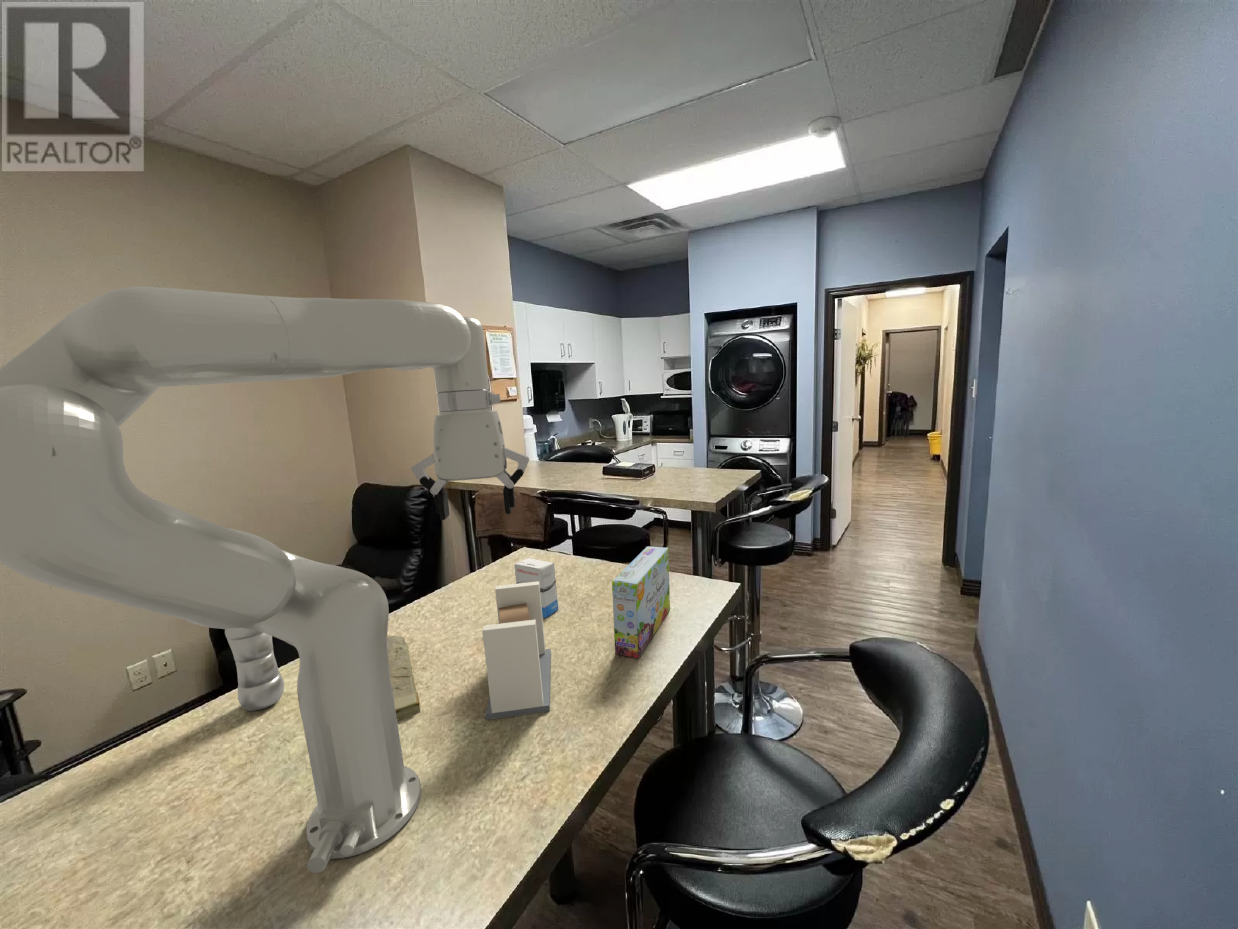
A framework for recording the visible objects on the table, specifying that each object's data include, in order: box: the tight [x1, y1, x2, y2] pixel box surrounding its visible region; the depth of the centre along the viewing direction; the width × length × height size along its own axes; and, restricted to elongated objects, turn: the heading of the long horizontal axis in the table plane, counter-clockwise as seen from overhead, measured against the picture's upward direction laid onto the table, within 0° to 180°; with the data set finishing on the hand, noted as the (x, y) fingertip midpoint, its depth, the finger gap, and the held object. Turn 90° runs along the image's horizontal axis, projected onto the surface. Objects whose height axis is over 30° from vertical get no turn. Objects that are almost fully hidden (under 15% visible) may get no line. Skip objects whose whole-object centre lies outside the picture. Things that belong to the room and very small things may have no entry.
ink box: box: [513, 557, 559, 619], centre depth 111 cm, size 8×5×12 cm, turn 58°
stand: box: [482, 581, 552, 721], centre depth 83 cm, size 17×10×15 cm, turn 7°
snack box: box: [611, 545, 671, 659], centre depth 99 cm, size 21×6×15 cm, turn 158°
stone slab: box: [387, 635, 421, 721], centre depth 88 cm, size 12×4×30 cm
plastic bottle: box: [224, 628, 285, 712], centre depth 82 cm, size 6×7×20 cm
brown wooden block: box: [499, 603, 530, 624], centre depth 83 cm, size 12×5×4 cm, turn 16°
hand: (477, 514), depth 74 cm, fingers open, 9 cm apart
